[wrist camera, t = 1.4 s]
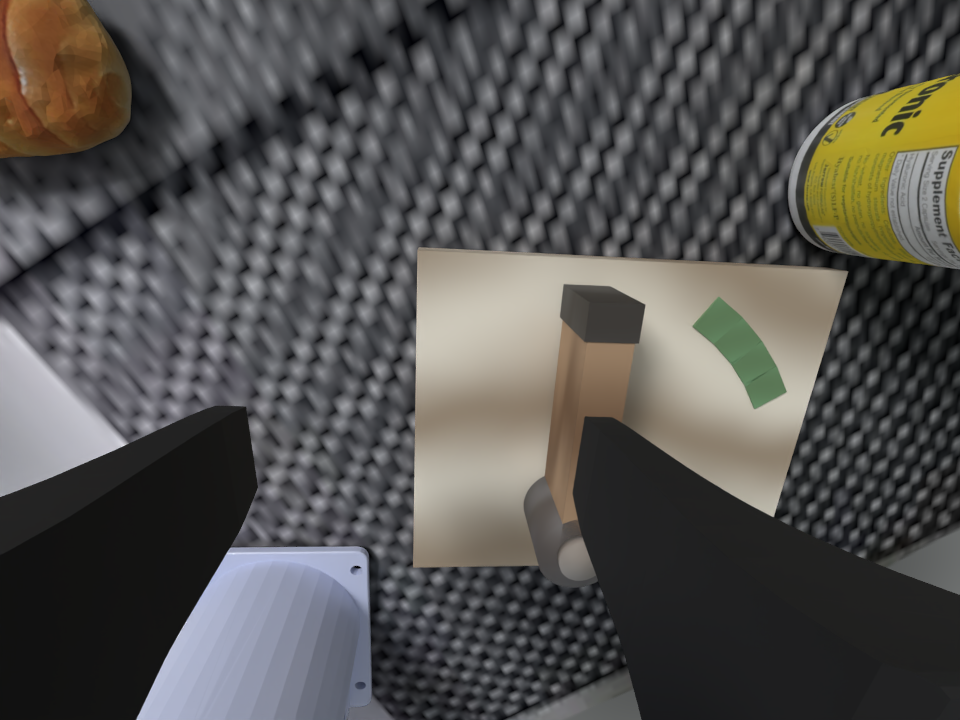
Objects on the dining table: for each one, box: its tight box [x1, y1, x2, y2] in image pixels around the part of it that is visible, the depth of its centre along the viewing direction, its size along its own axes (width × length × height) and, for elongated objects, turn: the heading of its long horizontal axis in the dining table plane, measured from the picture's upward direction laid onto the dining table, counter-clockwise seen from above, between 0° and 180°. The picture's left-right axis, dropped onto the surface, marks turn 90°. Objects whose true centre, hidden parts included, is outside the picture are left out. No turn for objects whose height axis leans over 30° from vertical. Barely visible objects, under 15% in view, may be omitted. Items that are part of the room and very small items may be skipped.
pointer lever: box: [524, 284, 646, 588], centre depth 17 cm, size 11×3×3 cm, turn 177°
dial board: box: [413, 247, 848, 567], centre depth 20 cm, size 14×16×1 cm
